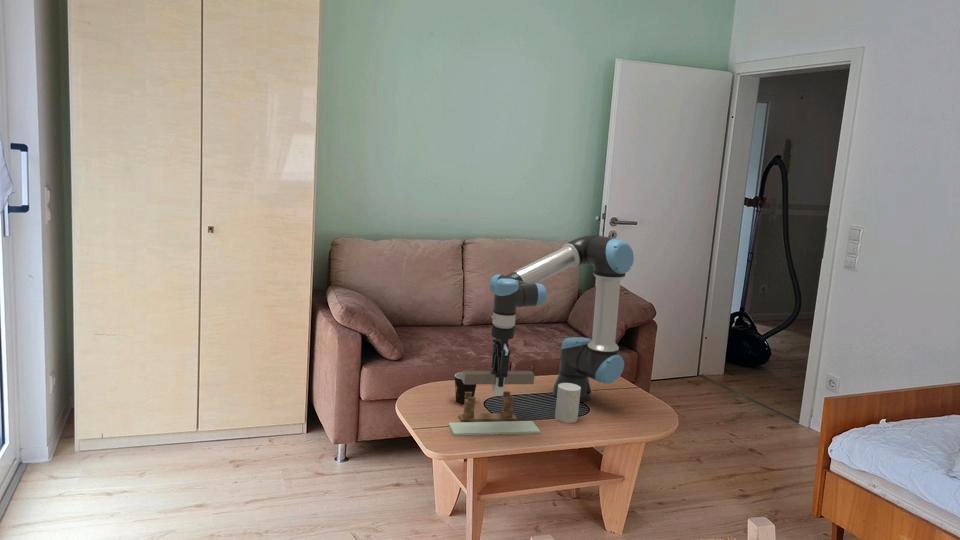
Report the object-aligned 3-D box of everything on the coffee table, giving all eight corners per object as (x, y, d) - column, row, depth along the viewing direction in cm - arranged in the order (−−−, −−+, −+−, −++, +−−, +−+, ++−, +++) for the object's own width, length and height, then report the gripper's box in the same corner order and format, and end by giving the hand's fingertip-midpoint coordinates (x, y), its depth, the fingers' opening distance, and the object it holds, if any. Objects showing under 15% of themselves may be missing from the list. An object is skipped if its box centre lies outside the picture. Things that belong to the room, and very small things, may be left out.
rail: (530, 380, 249) (531, 370, 249) (533, 384, 246) (534, 374, 245) (462, 380, 243) (462, 370, 243) (464, 384, 240) (465, 374, 239)
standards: (512, 415, 261) (514, 391, 260) (517, 421, 256) (519, 397, 254) (458, 416, 256) (459, 391, 255) (461, 422, 251) (463, 397, 249)
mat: (532, 423, 256) (532, 420, 255) (540, 433, 247) (540, 431, 247) (448, 424, 248) (448, 422, 248) (453, 435, 240) (454, 433, 239)
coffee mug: (473, 407, 266) (475, 381, 264) (450, 404, 267) (452, 378, 266) (479, 396, 277) (481, 371, 275) (457, 393, 279) (459, 368, 277)
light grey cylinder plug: (562, 424, 257) (566, 391, 255) (550, 415, 264) (553, 383, 262) (581, 421, 261) (585, 389, 259) (569, 413, 268) (572, 382, 266)
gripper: (486, 318, 248) (480, 384, 252) (499, 332, 232) (492, 402, 236) (507, 319, 250) (501, 384, 254) (521, 332, 234) (514, 401, 238)
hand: (497, 392), depth 245 cm, fingers closed on rail, 3 cm apart
